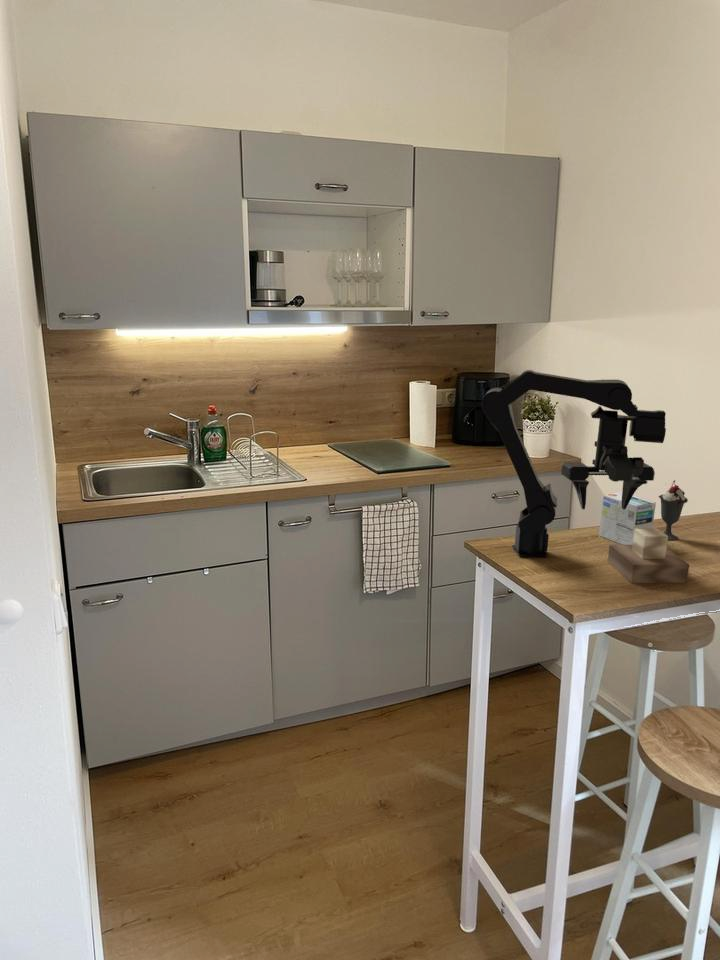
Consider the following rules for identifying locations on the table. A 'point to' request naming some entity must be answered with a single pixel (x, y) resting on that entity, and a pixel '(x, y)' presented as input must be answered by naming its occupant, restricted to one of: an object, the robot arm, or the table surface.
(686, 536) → the table surface
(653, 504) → the light bulb box
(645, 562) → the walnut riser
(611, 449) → the robot arm
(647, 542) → the maple cube
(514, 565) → the table surface
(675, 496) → the sundae
